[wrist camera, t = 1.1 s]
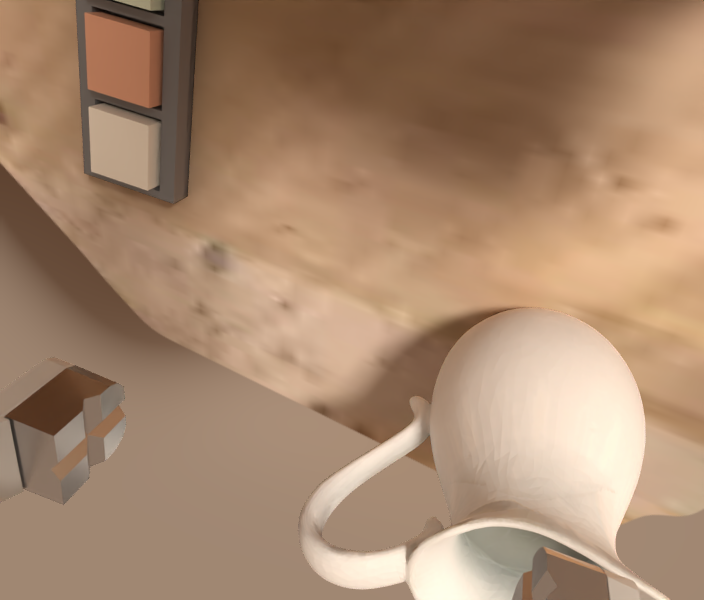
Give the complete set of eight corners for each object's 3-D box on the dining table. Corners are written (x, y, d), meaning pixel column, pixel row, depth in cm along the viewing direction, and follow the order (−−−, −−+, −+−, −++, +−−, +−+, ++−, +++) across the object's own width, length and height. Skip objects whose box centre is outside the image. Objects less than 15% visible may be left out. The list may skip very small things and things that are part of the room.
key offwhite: (104, 102, 53) (88, 106, 51) (162, 121, 52) (148, 125, 50) (106, 165, 57) (91, 171, 55) (160, 184, 56) (147, 190, 54)
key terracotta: (101, 11, 49) (84, 12, 47) (165, 30, 48) (149, 31, 46) (103, 85, 52) (87, 88, 50) (163, 104, 51) (148, 108, 50)
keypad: (92, -116, 46) (69, -122, 44) (203, -88, 44) (185, -93, 42) (101, 166, 59) (84, 173, 57) (187, 196, 57) (173, 203, 55)
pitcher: (644, 287, 48) (739, 561, 25) (612, 436, 56) (662, 752, 32) (379, 268, 55) (256, 468, 31) (384, 403, 63) (288, 643, 39)
